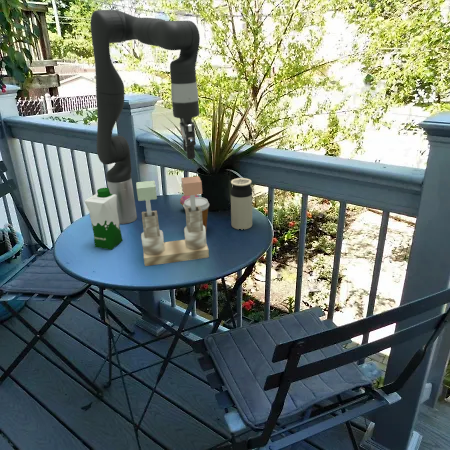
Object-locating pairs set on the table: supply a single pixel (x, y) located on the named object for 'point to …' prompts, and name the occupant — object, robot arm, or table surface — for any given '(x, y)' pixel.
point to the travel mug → (241, 203)
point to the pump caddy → (174, 250)
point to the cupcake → (185, 199)
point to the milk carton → (104, 219)
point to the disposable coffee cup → (203, 205)
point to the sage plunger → (146, 193)
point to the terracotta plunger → (192, 189)
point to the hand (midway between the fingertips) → (189, 154)
